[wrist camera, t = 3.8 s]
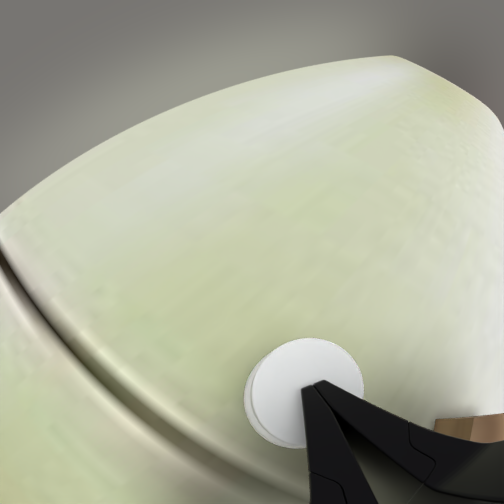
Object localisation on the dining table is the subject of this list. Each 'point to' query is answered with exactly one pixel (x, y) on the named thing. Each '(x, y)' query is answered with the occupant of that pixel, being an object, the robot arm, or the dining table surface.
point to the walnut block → (473, 428)
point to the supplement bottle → (295, 386)
